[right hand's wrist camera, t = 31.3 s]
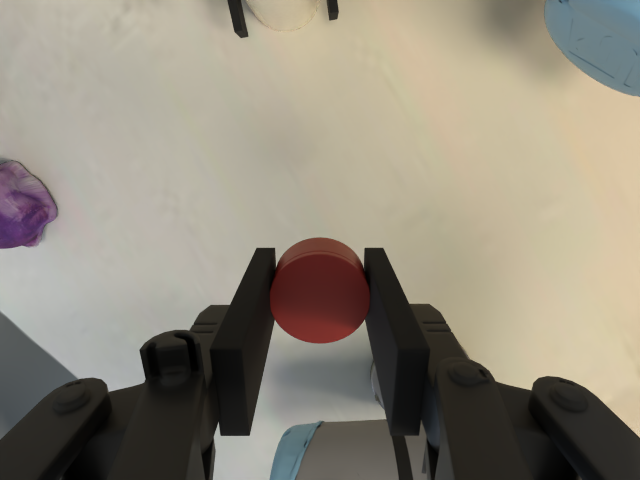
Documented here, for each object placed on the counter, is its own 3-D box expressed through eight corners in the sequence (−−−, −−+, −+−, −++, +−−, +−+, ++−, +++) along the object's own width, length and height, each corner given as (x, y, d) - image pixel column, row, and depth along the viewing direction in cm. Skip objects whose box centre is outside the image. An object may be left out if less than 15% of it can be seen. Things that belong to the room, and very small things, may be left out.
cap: (268, 242, 14) (260, 260, 12) (361, 232, 14) (367, 248, 12) (282, 321, 15) (277, 348, 14) (367, 313, 15) (373, 338, 13)
